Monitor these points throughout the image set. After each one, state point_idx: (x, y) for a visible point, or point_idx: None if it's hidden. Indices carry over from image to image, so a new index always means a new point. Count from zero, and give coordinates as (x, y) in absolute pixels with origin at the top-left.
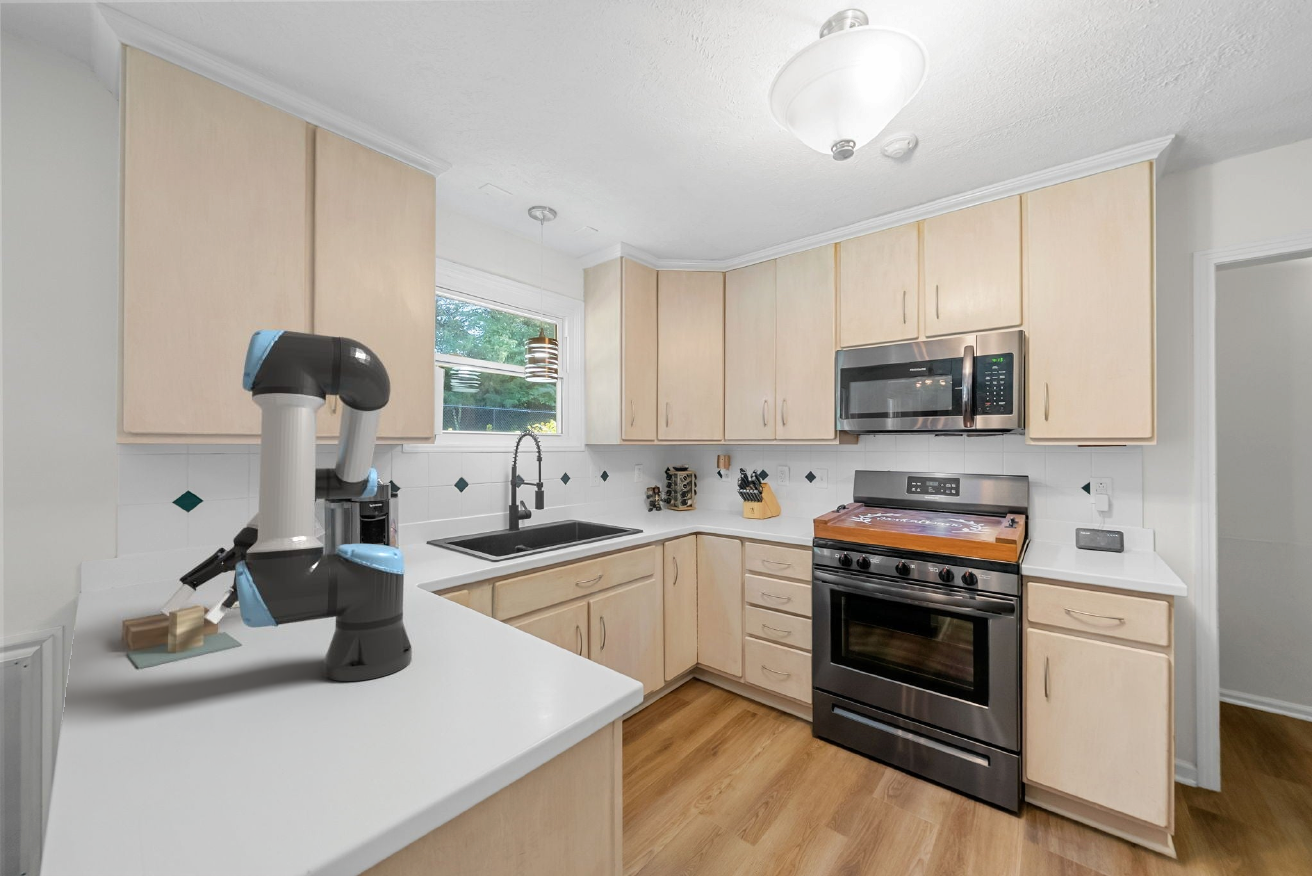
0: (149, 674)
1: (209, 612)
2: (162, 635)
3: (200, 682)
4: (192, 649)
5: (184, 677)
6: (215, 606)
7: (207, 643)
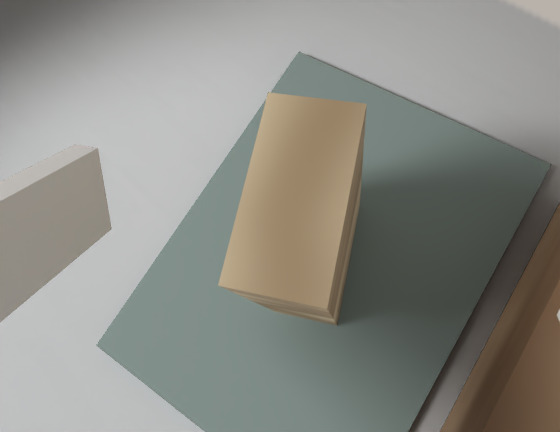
0: (214, 33)
1: (57, 159)
2: (531, 290)
3: (5, 24)
4: None
5: (79, 40)
6: (10, 178)
7: (268, 329)
